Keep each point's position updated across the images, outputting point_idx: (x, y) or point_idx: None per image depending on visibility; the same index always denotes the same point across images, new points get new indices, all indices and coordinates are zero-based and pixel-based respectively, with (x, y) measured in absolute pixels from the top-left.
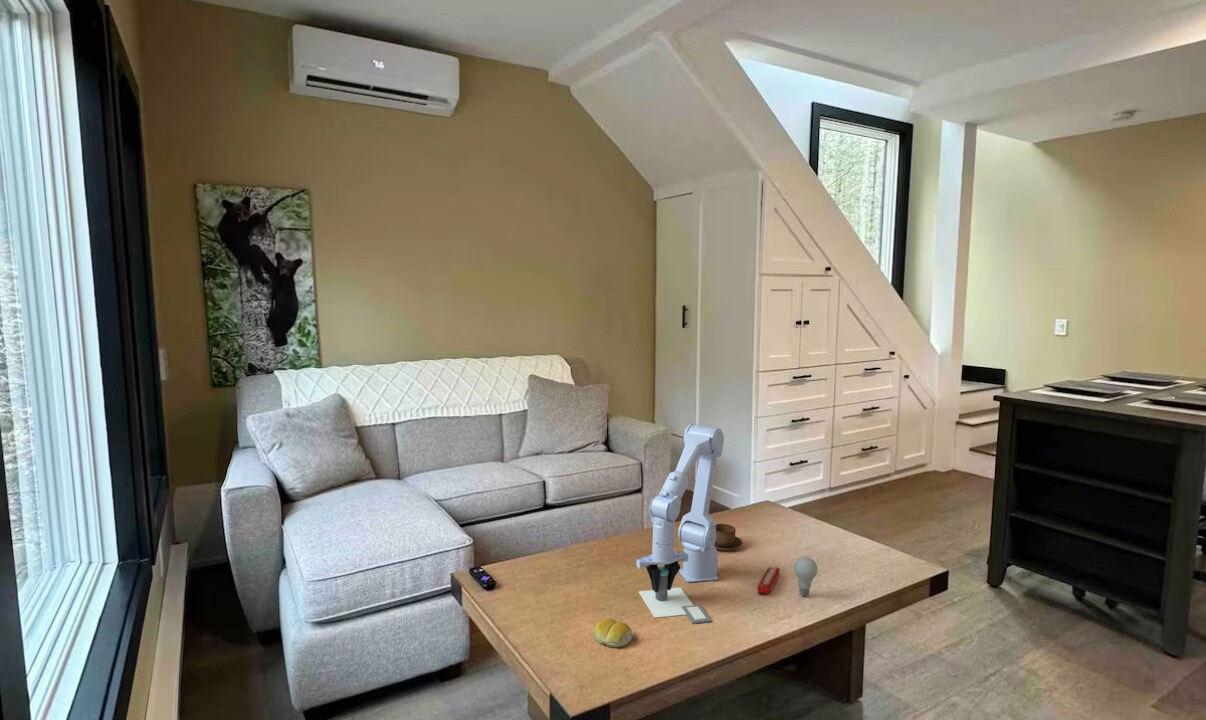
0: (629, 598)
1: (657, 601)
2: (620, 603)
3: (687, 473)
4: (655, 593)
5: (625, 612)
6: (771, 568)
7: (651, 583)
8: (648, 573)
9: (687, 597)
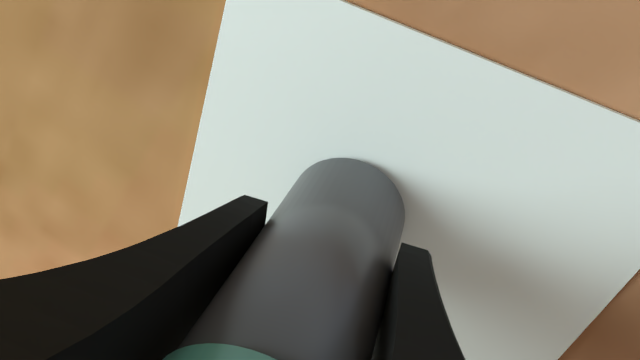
0: (101, 21)
1: None
2: (7, 52)
3: None
4: (288, 192)
5: (11, 178)
6: None
7: (201, 217)
8: (75, 264)
9: (578, 333)
